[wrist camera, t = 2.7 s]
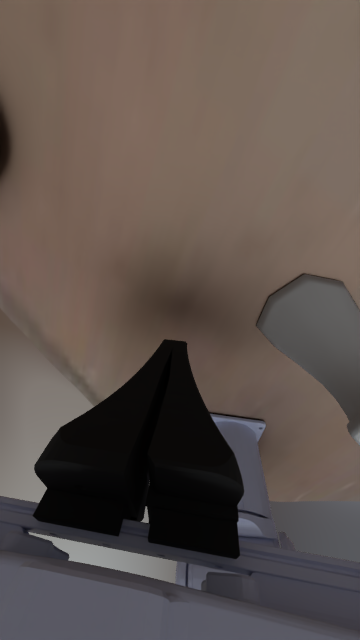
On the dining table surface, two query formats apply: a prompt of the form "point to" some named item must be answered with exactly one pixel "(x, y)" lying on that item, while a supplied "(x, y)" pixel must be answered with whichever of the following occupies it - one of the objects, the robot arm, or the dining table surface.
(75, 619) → the robot arm
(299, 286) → the flask
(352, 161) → the dining table surface
